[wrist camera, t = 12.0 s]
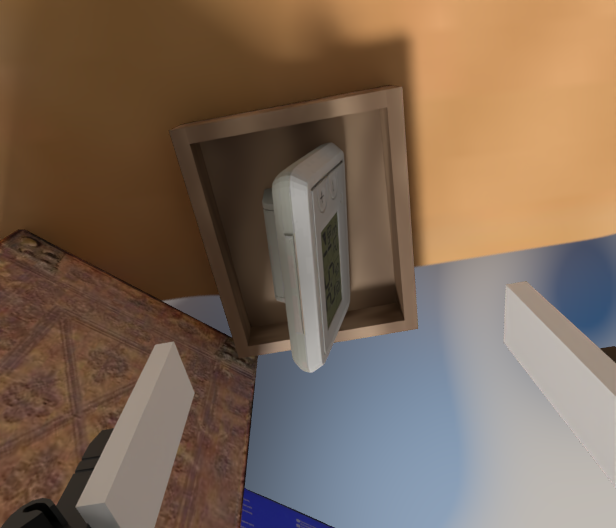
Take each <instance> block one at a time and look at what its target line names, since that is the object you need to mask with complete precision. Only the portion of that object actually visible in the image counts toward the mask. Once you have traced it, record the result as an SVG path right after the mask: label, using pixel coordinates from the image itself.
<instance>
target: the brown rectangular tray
mask: <svg viewBox="0 0 616 528" xmlns="http://www.w3.org/2000/svg"><path fill="white" fill-rule="evenodd" d="M169 133H170V136H171V139H172V143H173V146H174V149H175V152H176V156H177V159H178V162H179V165H180V169H181V172H182V175H183V178H184V182H185V185H186V188H187V191H188V195H189V198H190V201H191V204H192V208H193V211H194V214H195V217H196V221H197V224H198V227H199V230H200V234H201V237H202V240H203V243H204V247H205V250H206V253H207V256H208V260H209V263H210V266H211V269H212V273H213V276H214V279H215V282H216V286H217V289H218V292H219V295H220V299H221V301H222V305H223V308H224V312H225V315H226V318H227V321H228V324H229V328H230V331H231V334H232V338H233V341H234V344H235V347H236V351H237V354H238V357H239V358H245V357H251V356H257V355H263V354H269V353H275V352H281V351H287V350H291V344H290V336H289V329H288V320H287V312H286V304H285V303H284V302H280V301H277V300H276V298H275V294H274V286H273V278H272V271H271V263H270V256H269V249H268V241H267V234H266V226H265V219H264V212H263V205H262V199H263V194H264V190H265V189H268V188H272V184H273V181H274V179H275V178H276V176H277V175H278V174H279V173H280V172H282V171H283V170H284V169H286V168H287V167H288V166H290V165H291V164H293V163H294V162H296V161H297V160H299V159H300V158H302V157H303V156H305V155H306V154H308V153H309V152H311V151H312V150H314V149H316V148H317V147H319V146H320V145H322V144H325V143H331V142H332V143H334V144H335V145H336V146H337V147H339V148H340V149H341V150H342V151H343V153H344V161H345V180H346V204H347V227H348V251H349V274H350V304H349V307H348V310H347V312H346V315H345V317H344V319H343V322H342V324H341V326H340V329H339V331H338V334H337V336H336V338H335V341H334V343H335V342H341V341H347V340H353V339H359V338H365V337H371V336H377V335H383V334H389V333H395V332H401V331H407V330H413V329H418V319H417V304H416V290H415V274H414V258H413V243H412V227H411V212H410V197H409V182H408V166H407V151H406V136H405V121H404V105H403V90H402V87H401V86H393V85H388V86H382V87H377V88H372V89H367V90H361V91H356V92H351V93H345V94H340V95H335V96H329V97H324V98H319V99H313V100H308V101H303V102H298V103H292V104H287V105H282V106H276V107H271V108H266V109H260V110H255V111H250V112H245V113H239V114H234V115H229V116H223V117H218V118H213V119H207V120H202V121H197V122H191V123H186V124H181V125H179V126H177V127H175V128H173V129H171V130H169Z"/></svg>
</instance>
